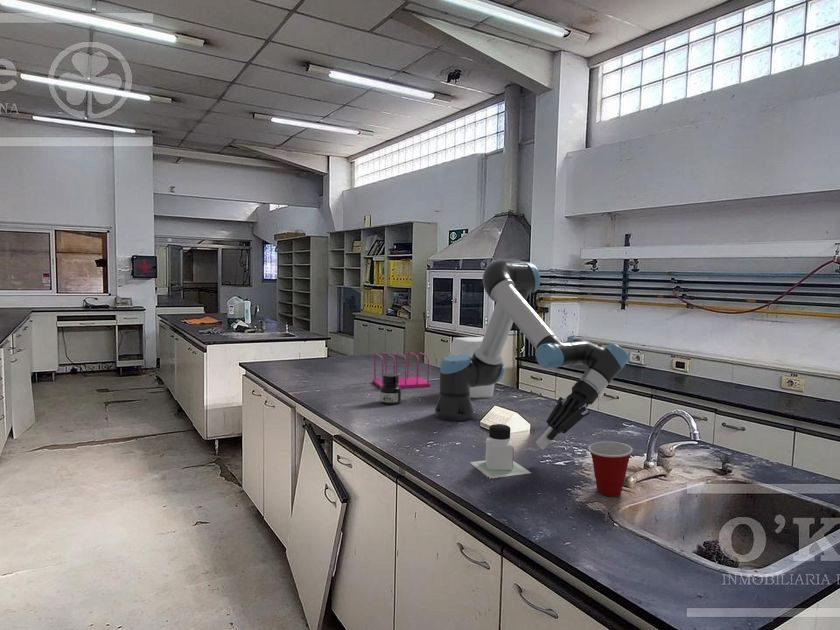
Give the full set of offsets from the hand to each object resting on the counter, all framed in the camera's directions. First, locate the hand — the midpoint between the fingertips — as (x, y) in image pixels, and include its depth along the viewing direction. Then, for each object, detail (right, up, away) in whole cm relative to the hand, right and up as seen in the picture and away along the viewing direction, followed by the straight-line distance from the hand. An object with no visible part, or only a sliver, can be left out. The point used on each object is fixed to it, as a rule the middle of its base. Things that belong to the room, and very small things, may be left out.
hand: (539, 446), depth 158 cm
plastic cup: (+13, -7, -20) cm, 25 cm away
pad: (-12, -5, -4) cm, 14 cm away
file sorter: (-45, +4, +108) cm, 117 cm away
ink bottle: (-48, +1, +71) cm, 85 cm away
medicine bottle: (-12, -5, -3) cm, 14 cm away
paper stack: (-13, +2, +89) cm, 90 cm away
